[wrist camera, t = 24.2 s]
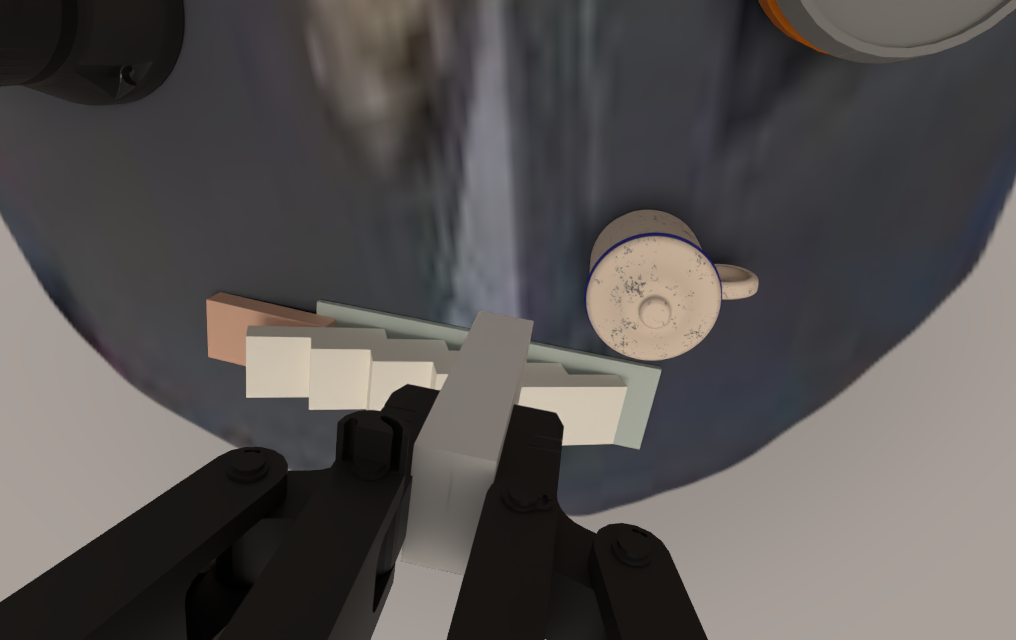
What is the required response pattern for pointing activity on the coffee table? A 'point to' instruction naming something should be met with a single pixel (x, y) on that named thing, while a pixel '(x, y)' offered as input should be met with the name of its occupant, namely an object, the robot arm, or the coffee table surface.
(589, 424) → the domino
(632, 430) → the strip
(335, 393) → the domino
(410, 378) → the domino
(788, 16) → the reusable coffee cup
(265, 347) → the domino
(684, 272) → the teacup with lid
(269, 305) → the domino
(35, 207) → the coffee table surface
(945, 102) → the coffee table surface
